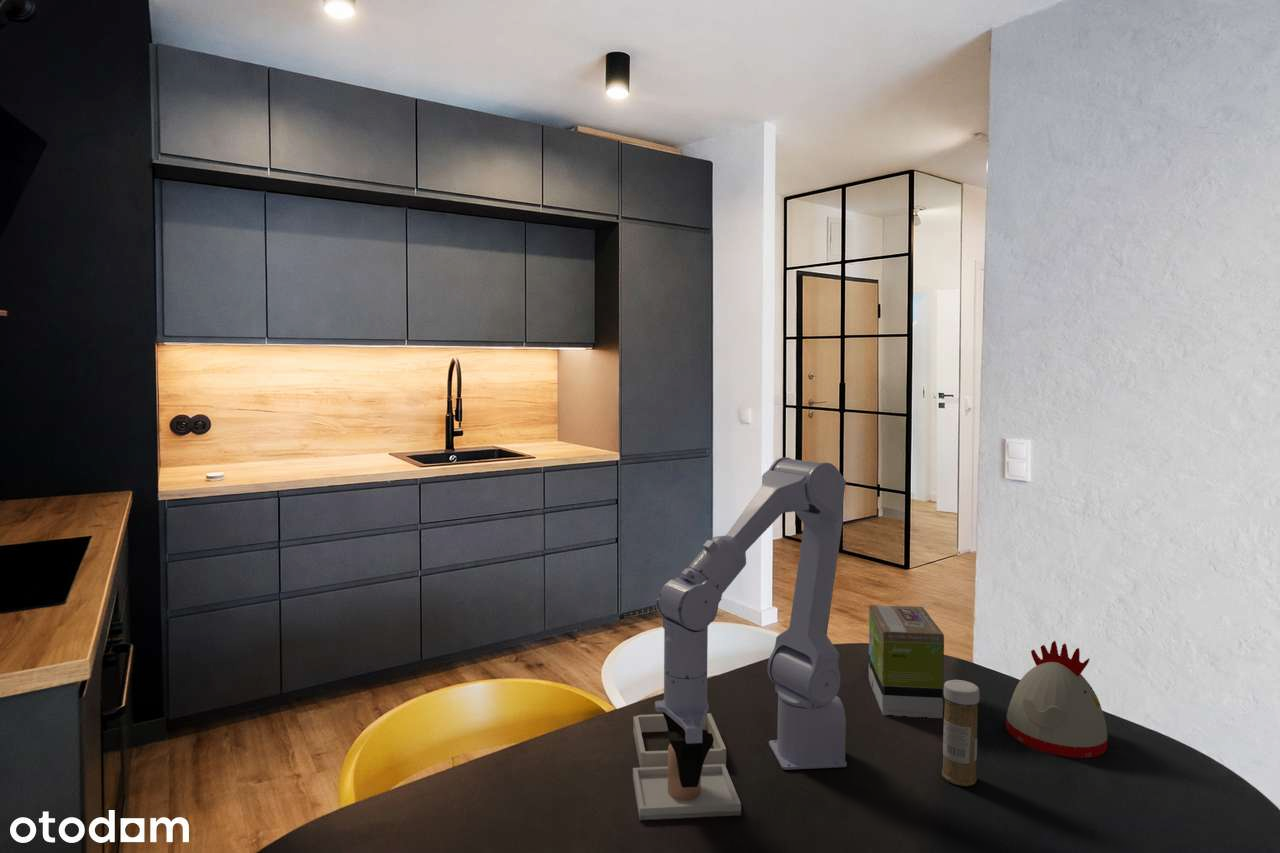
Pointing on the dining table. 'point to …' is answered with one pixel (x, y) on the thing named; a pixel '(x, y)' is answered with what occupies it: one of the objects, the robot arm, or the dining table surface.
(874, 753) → the dining table surface
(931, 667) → the tea box
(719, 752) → the grey square frame
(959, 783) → the sprinkles bottle
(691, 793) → the terracotta cylinder
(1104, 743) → the kitchen timer
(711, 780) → the tray
